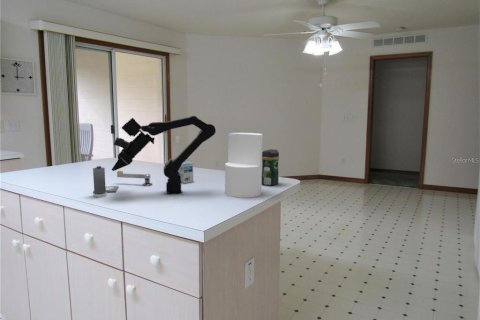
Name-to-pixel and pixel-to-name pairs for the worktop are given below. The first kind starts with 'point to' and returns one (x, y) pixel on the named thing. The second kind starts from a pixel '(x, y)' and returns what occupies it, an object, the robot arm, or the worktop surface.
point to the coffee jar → (270, 167)
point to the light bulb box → (186, 172)
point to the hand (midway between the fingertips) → (113, 168)
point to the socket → (111, 189)
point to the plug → (99, 182)
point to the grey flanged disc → (147, 182)
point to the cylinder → (244, 165)
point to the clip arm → (132, 175)
